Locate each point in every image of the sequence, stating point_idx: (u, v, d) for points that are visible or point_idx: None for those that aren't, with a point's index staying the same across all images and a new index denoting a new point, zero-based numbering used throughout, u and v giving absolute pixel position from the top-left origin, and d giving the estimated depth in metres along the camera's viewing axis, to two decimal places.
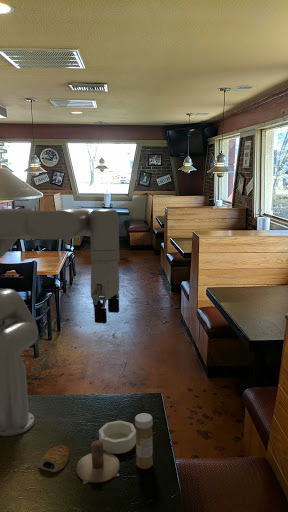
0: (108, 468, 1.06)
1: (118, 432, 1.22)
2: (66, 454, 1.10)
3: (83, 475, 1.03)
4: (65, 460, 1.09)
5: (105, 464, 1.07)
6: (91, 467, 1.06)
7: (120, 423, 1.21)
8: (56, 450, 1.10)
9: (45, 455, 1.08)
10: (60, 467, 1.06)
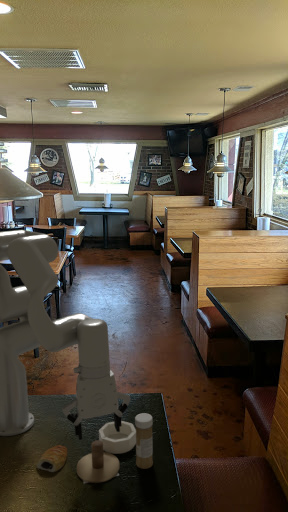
0: (108, 468, 1.06)
1: (118, 432, 1.22)
2: (64, 454, 1.10)
3: (83, 475, 1.03)
4: (63, 460, 1.09)
5: (105, 464, 1.07)
6: (91, 467, 1.06)
7: None
8: (54, 451, 1.10)
9: (43, 455, 1.08)
10: (59, 467, 1.07)
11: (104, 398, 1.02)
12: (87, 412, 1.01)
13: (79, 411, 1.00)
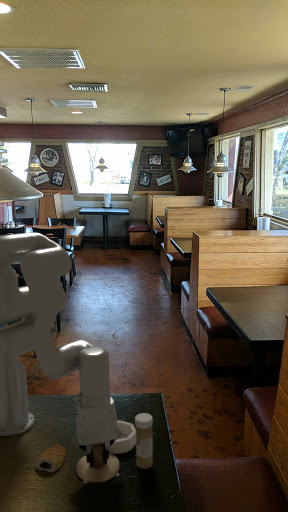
0: (108, 468, 1.06)
1: None
2: (62, 454, 1.10)
3: (83, 475, 1.03)
4: (62, 460, 1.09)
5: None
6: None
7: (120, 423, 1.21)
8: (52, 451, 1.10)
9: (42, 455, 1.08)
10: (57, 467, 1.07)
11: (104, 425, 1.03)
12: (87, 439, 1.02)
13: (79, 438, 1.02)
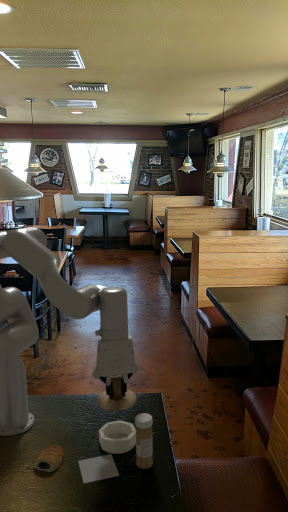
0: (126, 400, 1.14)
1: (118, 432, 1.22)
2: (61, 454, 1.10)
3: (103, 405, 1.12)
4: (60, 460, 1.09)
5: (123, 397, 1.16)
6: (110, 399, 1.15)
7: (120, 423, 1.21)
8: (50, 451, 1.10)
9: (40, 455, 1.08)
10: (56, 467, 1.07)
11: (123, 359, 1.11)
12: (107, 371, 1.11)
13: (100, 370, 1.10)
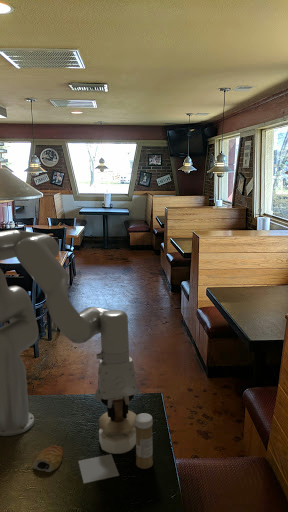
0: (128, 421, 1.15)
1: None
2: (60, 454, 1.10)
3: (105, 427, 1.13)
4: (59, 460, 1.09)
5: None
6: (112, 421, 1.16)
7: None
8: (49, 451, 1.10)
9: (39, 456, 1.08)
10: (55, 467, 1.07)
11: (124, 381, 1.13)
12: (108, 394, 1.12)
13: (101, 393, 1.11)
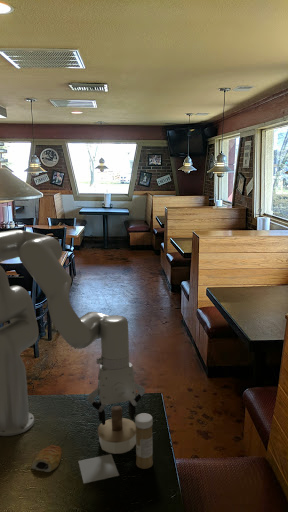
0: (127, 430, 1.16)
1: None
2: (59, 454, 1.11)
3: (104, 436, 1.13)
4: (58, 460, 1.09)
5: (124, 427, 1.17)
6: (111, 430, 1.16)
7: None
8: (48, 451, 1.10)
9: (38, 456, 1.08)
10: (54, 467, 1.07)
11: (123, 387, 1.13)
12: (108, 399, 1.12)
13: (101, 398, 1.12)
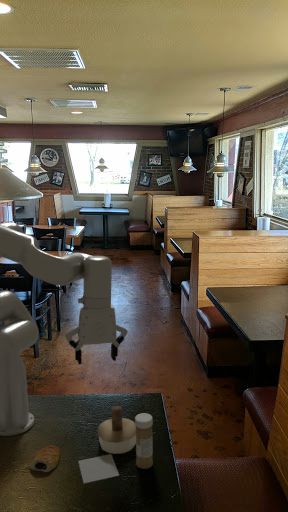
0: (127, 430, 1.16)
1: None
2: (57, 454, 1.11)
3: (104, 436, 1.13)
4: (57, 460, 1.09)
5: (124, 427, 1.17)
6: (111, 430, 1.16)
7: None
8: (46, 451, 1.10)
9: (36, 456, 1.08)
10: (53, 467, 1.07)
11: (104, 328, 1.12)
12: (88, 339, 1.11)
13: (81, 337, 1.10)
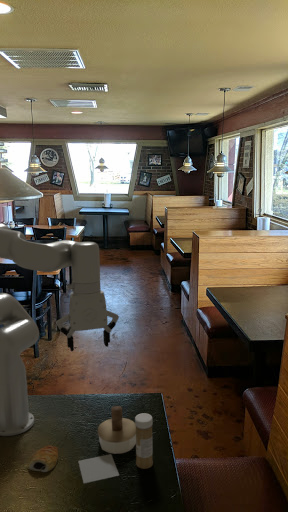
0: (127, 430, 1.16)
1: None
2: (56, 454, 1.11)
3: (104, 436, 1.13)
4: (55, 459, 1.09)
5: (124, 427, 1.17)
6: (111, 430, 1.16)
7: None
8: (45, 451, 1.10)
9: (35, 456, 1.08)
10: (52, 467, 1.07)
11: (94, 313, 1.12)
12: (79, 325, 1.11)
13: (71, 323, 1.10)
